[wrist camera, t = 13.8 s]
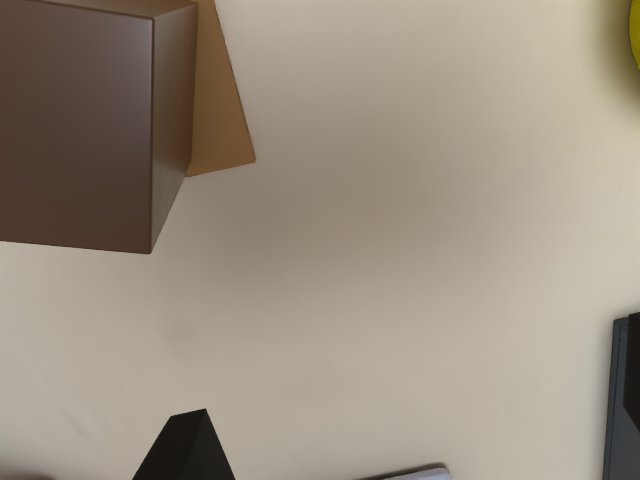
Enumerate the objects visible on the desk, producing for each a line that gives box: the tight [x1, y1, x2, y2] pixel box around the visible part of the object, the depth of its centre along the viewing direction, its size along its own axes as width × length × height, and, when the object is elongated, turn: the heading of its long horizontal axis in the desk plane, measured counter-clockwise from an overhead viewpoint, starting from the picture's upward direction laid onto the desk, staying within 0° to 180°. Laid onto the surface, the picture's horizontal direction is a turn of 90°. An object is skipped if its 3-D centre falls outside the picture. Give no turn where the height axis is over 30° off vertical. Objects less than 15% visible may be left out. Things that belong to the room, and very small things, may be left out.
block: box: [0, 0, 198, 254], centre depth 12 cm, size 4×4×6 cm
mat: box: [184, 0, 256, 178], centre depth 15 cm, size 6×6×1 cm
